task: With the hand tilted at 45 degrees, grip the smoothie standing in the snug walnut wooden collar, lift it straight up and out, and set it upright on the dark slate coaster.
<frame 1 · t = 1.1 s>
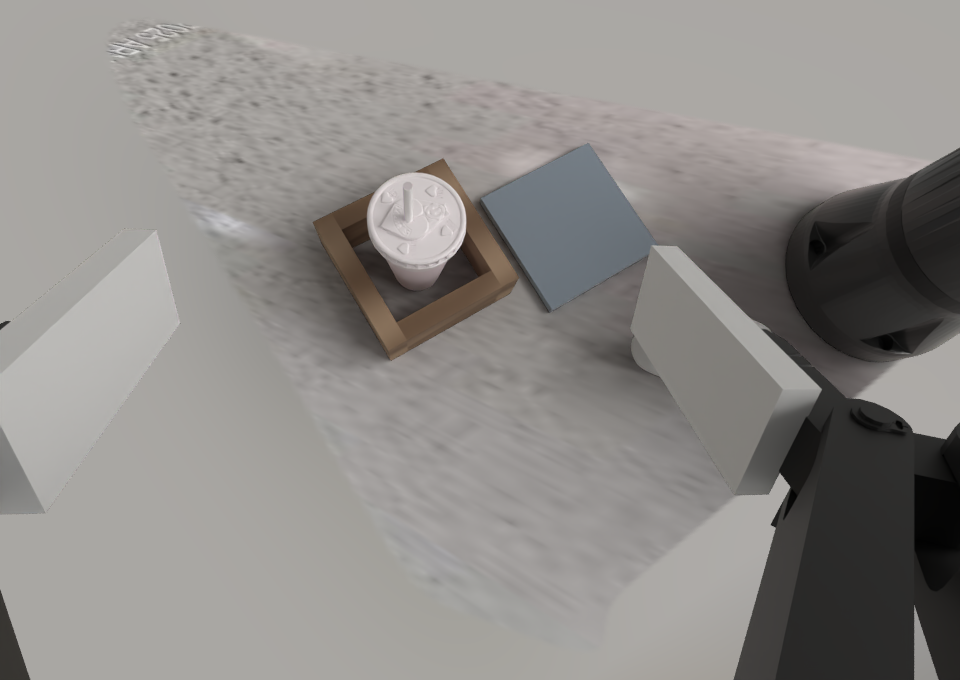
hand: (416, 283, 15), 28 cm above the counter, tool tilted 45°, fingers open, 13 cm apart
coaster: (568, 227, 46), on the counter
smoothie: (416, 269, 44), resting in collar
collar: (416, 268, 44), on the counter
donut: (669, 362, 45), on the counter
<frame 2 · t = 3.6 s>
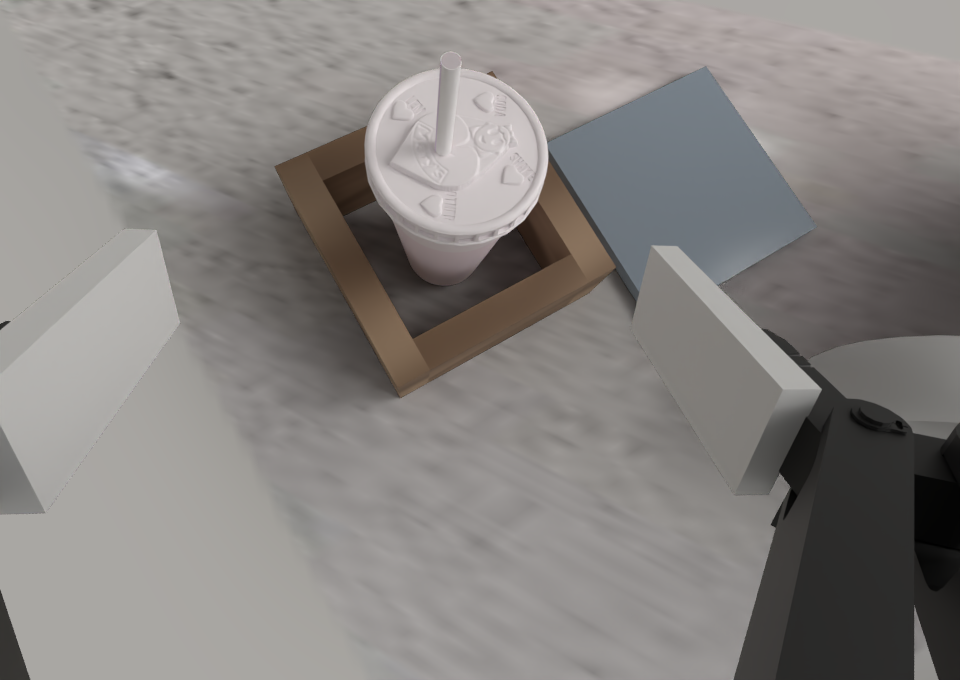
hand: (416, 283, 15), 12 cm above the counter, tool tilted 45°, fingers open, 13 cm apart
coaster: (676, 192, 30), on the counter
smoothie: (443, 252, 28), resting in collar
collar: (443, 251, 28), on the counter
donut: (833, 405, 29), on the counter
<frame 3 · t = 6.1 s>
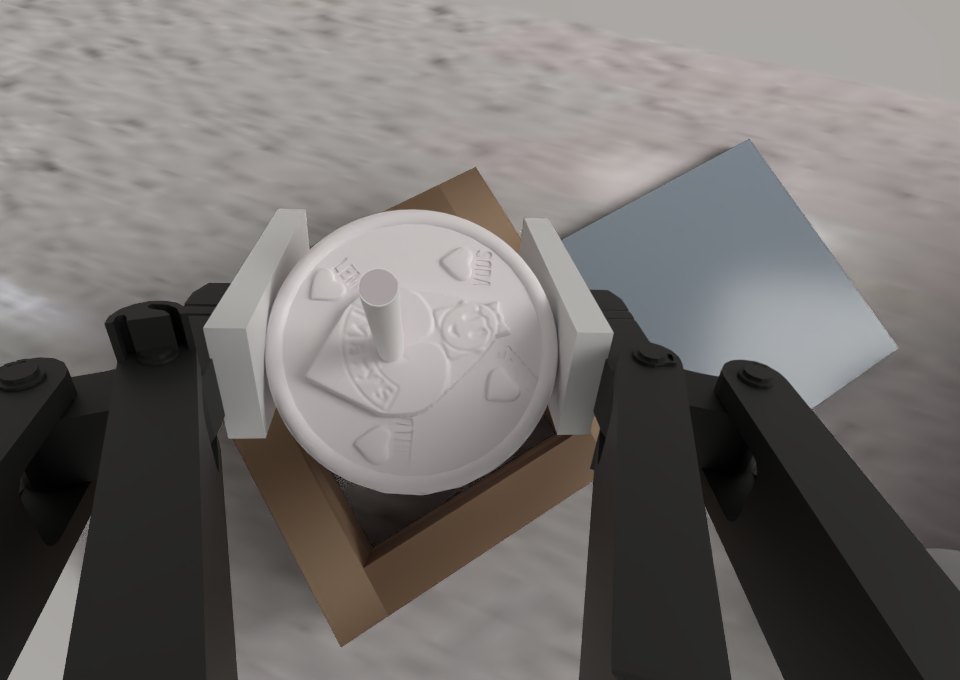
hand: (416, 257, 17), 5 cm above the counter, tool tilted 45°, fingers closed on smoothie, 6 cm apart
coaster: (716, 304, 23), on the counter
smoothie: (415, 396, 21), resting in collar, touching gripper
collar: (415, 396, 21), on the counter
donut: (928, 586, 22), on the counter
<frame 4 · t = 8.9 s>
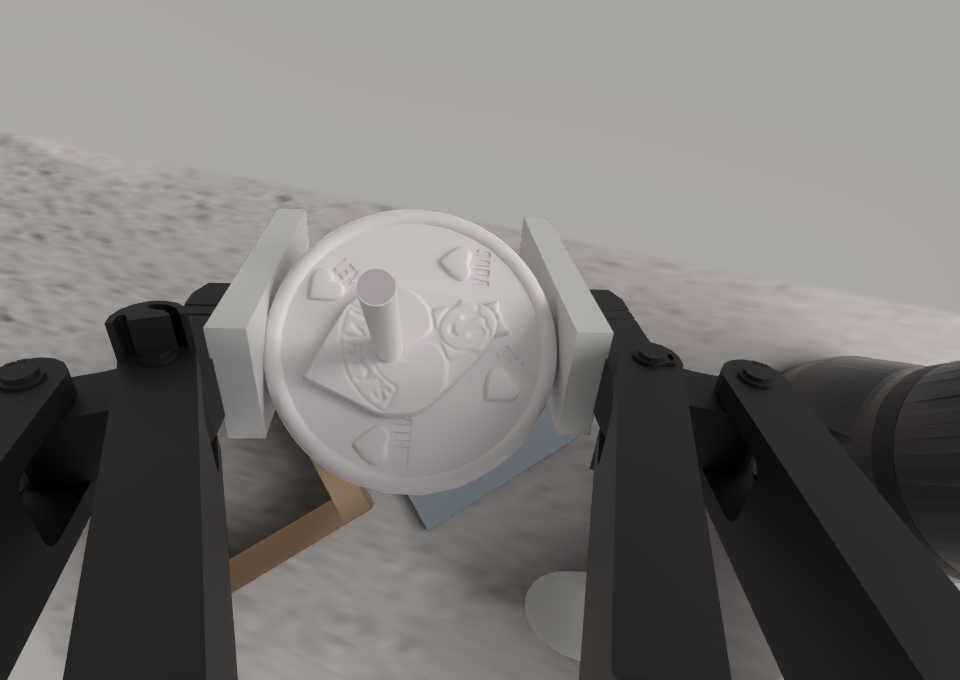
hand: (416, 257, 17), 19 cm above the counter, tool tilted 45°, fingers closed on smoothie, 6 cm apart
coaster: (459, 406, 35), on the counter
smoothie: (414, 396, 21), point 14 cm above the counter, touching gripper
collar: (246, 471, 33), on the counter
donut: (586, 594, 34), on the counter
when the fingers open (7 cm above the counter, at t = 11.9 s): smoothie drops 1 cm, resting on coaster.
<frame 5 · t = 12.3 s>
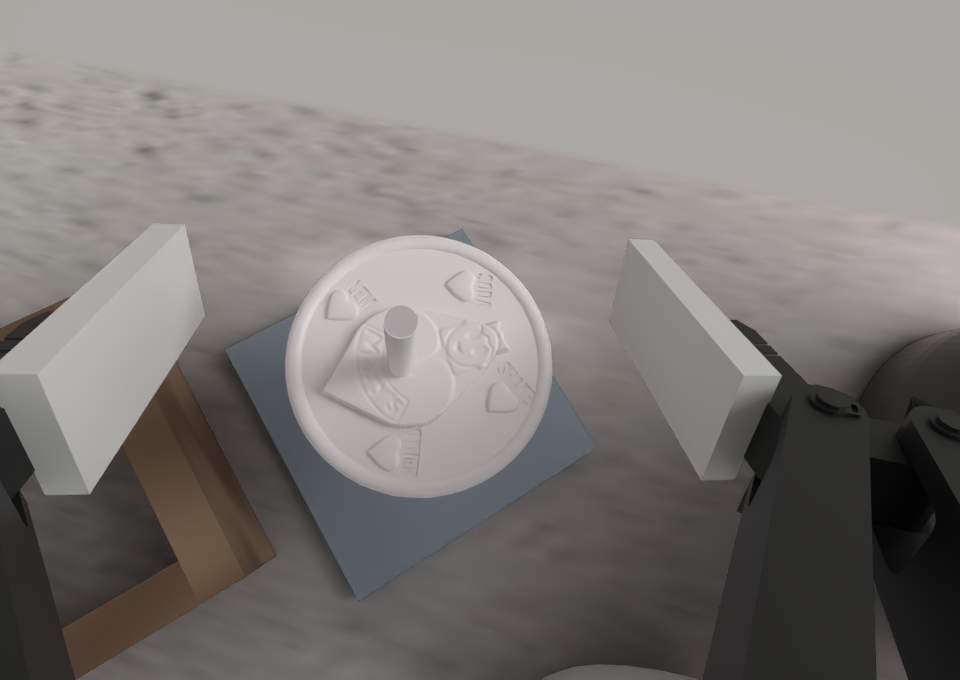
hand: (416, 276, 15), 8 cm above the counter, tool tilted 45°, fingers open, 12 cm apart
coaster: (414, 401, 23), on the counter
smoothie: (413, 401, 22), point 1 cm above the counter, touching coaster
collar: (72, 506, 21), on the counter
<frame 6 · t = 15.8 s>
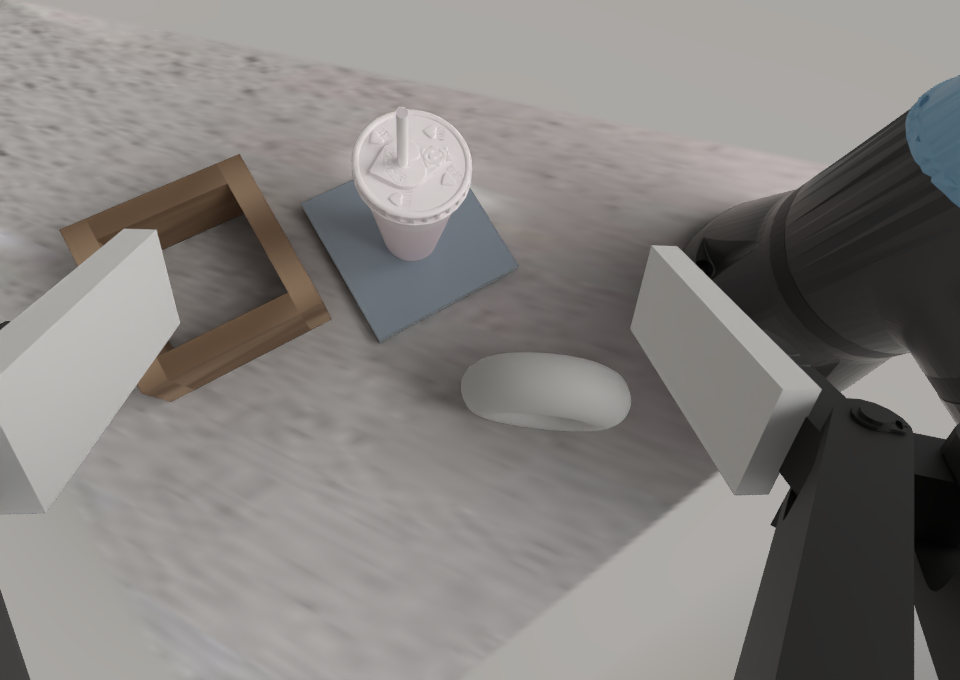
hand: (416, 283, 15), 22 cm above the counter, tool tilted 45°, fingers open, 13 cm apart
coaster: (411, 239, 39), on the counter
smoothie: (410, 237, 38), point 1 cm above the counter, touching coaster
collar: (215, 287, 36), on the counter
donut: (525, 404, 37), on the counter
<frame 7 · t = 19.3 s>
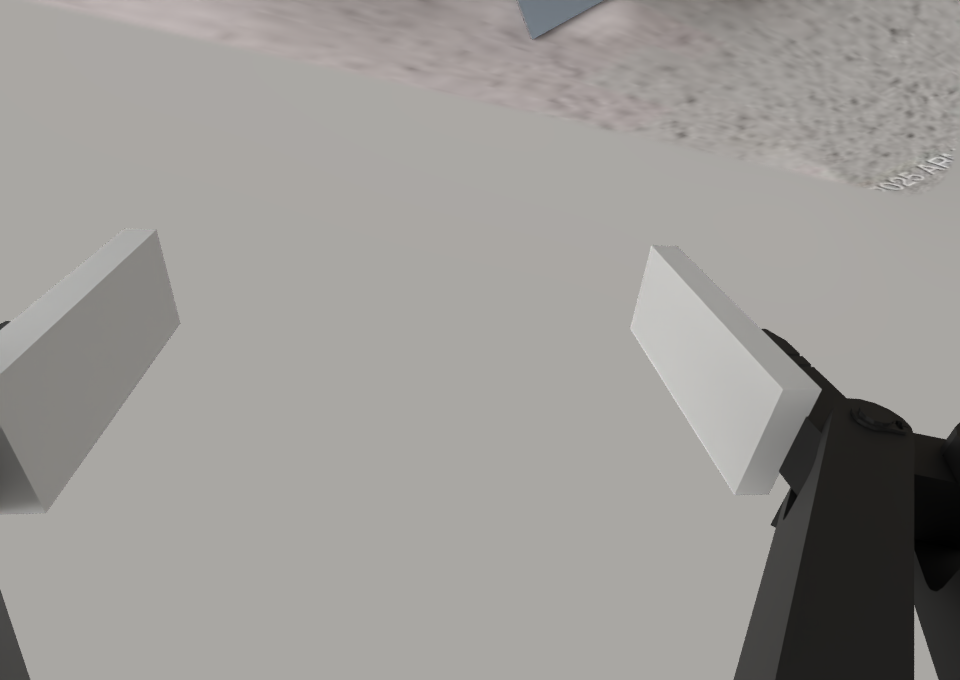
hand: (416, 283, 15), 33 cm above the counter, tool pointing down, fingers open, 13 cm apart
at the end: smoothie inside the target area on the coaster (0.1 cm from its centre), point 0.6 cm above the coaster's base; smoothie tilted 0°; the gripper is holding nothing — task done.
